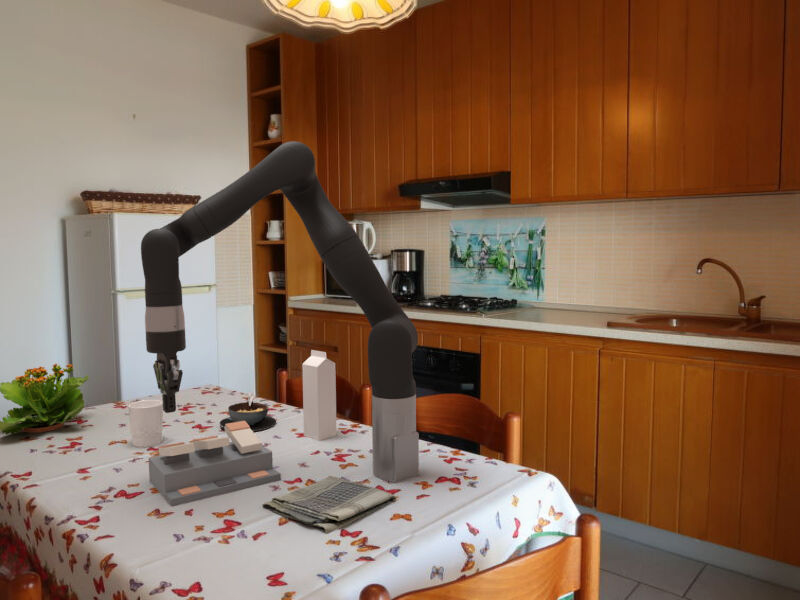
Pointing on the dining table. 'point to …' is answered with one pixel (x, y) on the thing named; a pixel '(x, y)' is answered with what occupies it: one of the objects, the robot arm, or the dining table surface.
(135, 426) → the white cup
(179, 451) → the rocker
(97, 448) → the dining table surface
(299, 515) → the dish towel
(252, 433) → the block
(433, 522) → the dining table surface
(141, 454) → the dining table surface
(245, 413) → the soup bowl
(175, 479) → the switch unit
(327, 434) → the milk
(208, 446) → the rocker
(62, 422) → the potted flower
